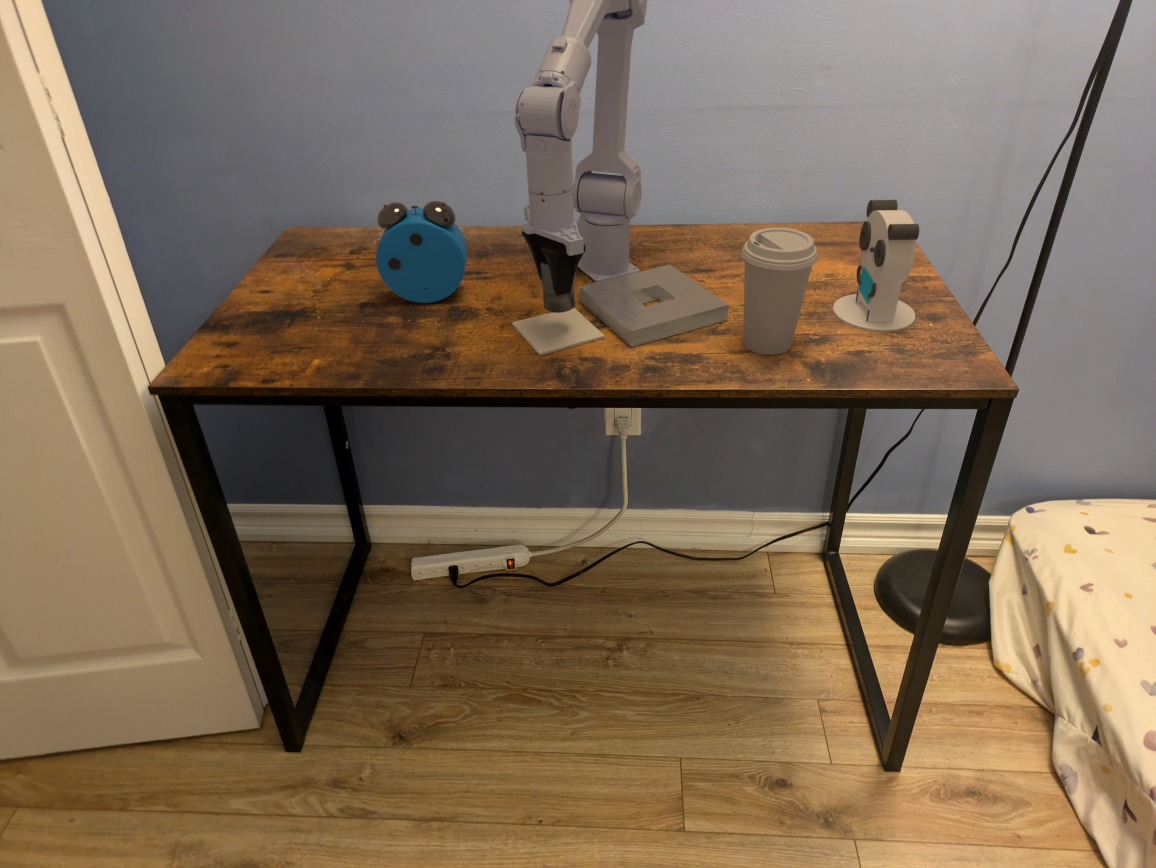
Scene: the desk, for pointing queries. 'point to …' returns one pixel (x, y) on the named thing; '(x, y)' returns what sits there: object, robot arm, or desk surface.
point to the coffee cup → (775, 287)
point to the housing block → (642, 324)
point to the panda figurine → (881, 271)
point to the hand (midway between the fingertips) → (555, 286)
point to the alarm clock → (420, 251)
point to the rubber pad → (557, 331)
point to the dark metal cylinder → (549, 296)
